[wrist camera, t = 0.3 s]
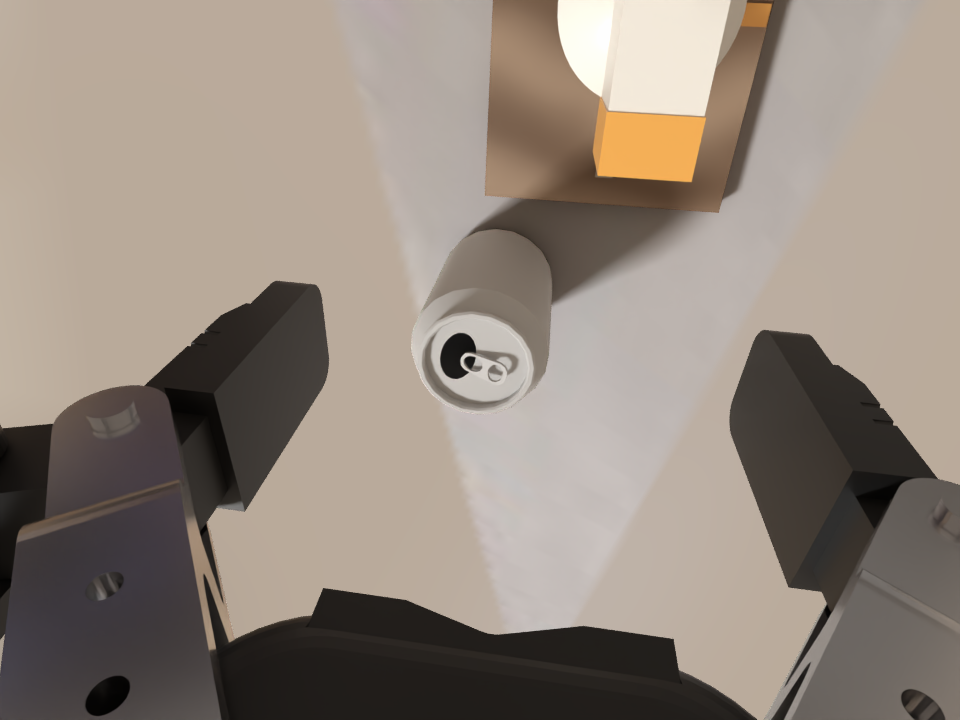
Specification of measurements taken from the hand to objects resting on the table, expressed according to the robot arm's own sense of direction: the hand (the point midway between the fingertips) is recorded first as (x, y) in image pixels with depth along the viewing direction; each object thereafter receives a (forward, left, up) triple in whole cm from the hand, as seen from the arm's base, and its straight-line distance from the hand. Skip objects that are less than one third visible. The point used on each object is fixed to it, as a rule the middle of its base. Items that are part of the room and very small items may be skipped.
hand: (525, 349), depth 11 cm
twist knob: (-6, +3, -19) cm, 20 cm away
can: (+10, -3, -27) cm, 29 cm away
